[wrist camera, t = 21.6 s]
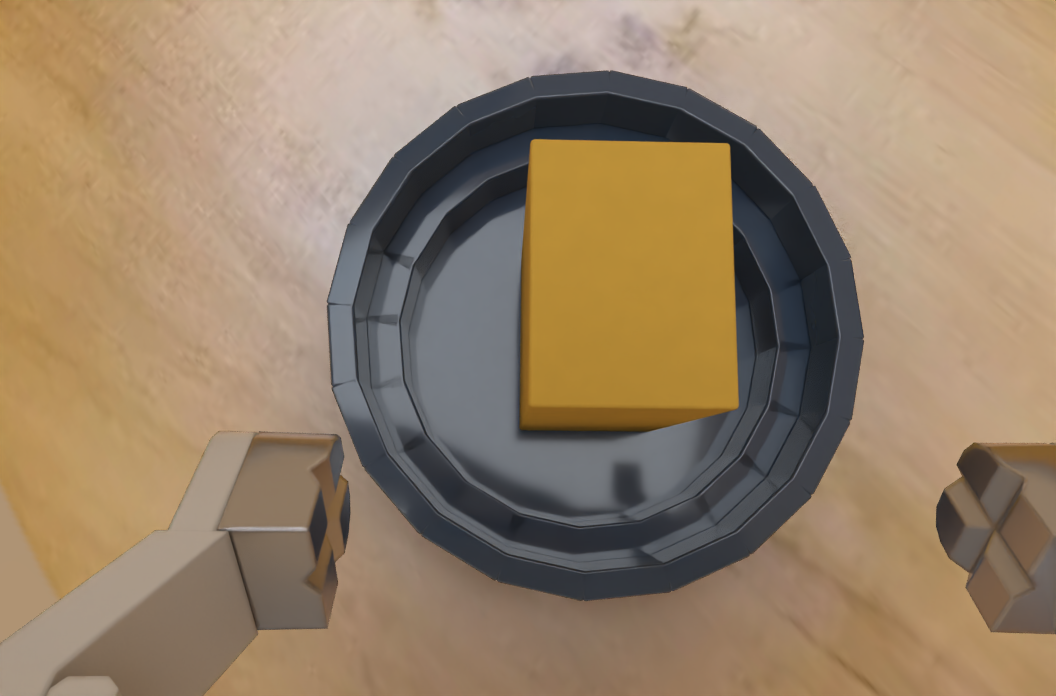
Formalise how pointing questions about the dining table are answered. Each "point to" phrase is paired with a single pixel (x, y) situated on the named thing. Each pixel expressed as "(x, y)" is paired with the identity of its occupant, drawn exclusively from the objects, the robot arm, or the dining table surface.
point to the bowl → (494, 353)
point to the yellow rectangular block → (627, 286)
